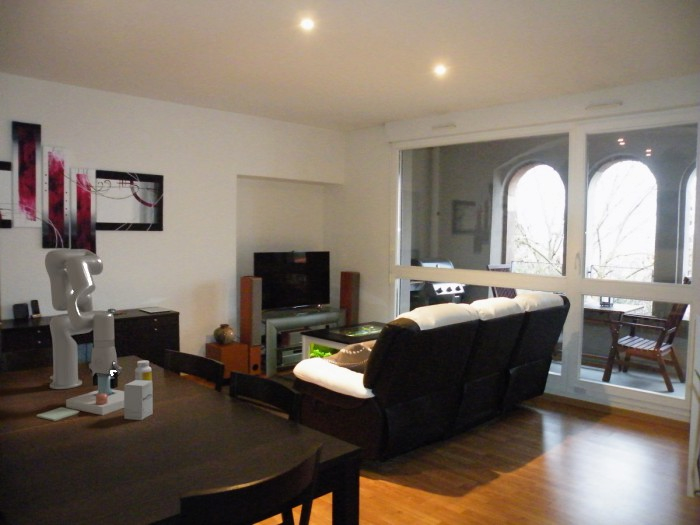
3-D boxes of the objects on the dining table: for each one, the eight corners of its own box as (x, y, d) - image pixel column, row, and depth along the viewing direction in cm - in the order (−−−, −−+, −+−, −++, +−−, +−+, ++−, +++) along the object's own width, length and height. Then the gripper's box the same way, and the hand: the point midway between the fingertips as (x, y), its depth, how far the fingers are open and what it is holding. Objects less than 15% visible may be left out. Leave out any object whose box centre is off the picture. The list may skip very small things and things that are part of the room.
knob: (93, 410, 205) (93, 395, 205) (102, 407, 208) (102, 392, 208) (101, 411, 203) (100, 396, 203) (110, 408, 207) (109, 394, 206)
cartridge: (94, 402, 217) (93, 372, 216) (106, 398, 222) (105, 369, 221) (104, 404, 214) (103, 374, 213) (115, 400, 219) (115, 371, 219)
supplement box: (142, 420, 196) (141, 385, 195) (123, 419, 197) (123, 384, 197) (153, 413, 203) (153, 380, 202) (135, 412, 205) (135, 379, 204)
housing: (66, 407, 210) (66, 399, 210) (105, 395, 226) (105, 387, 226) (102, 415, 201) (102, 407, 201) (140, 401, 218) (140, 394, 217)
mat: (36, 416, 199) (36, 415, 199) (61, 408, 208) (61, 407, 208) (54, 420, 195) (54, 419, 195) (79, 412, 204) (79, 411, 204)
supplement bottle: (154, 389, 235) (154, 359, 234) (147, 393, 228) (147, 363, 228) (139, 388, 235) (139, 359, 235) (132, 393, 229) (131, 363, 228)
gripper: (81, 344, 217) (82, 386, 218) (111, 347, 209) (113, 391, 210) (97, 340, 224) (98, 382, 224) (127, 344, 216) (128, 386, 217)
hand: (105, 386), depth 217 cm, fingers open, 9 cm apart
